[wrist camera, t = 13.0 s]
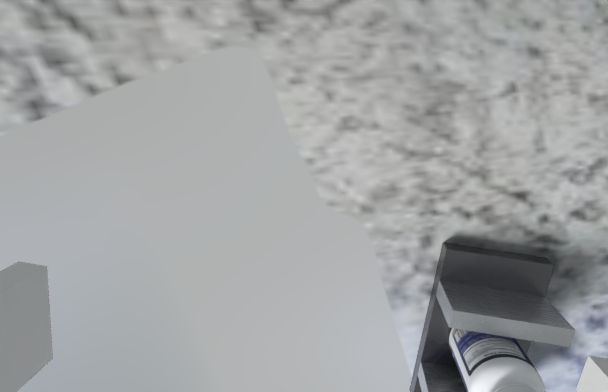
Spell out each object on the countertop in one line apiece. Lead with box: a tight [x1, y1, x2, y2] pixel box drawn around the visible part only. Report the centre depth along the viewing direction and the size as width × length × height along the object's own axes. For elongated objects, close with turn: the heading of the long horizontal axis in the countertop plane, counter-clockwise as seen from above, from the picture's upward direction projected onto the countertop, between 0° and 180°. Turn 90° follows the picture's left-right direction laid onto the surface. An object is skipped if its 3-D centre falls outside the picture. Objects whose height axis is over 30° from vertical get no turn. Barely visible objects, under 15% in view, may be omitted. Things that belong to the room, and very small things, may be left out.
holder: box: [410, 243, 575, 392], centre depth 35 cm, size 16×9×6 cm, turn 173°
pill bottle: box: [449, 328, 545, 392], centre depth 32 cm, size 5×5×10 cm
